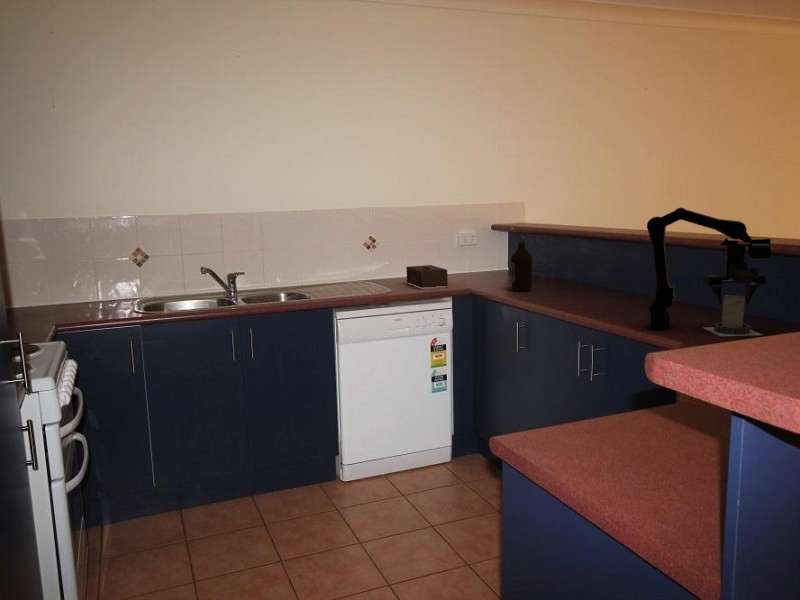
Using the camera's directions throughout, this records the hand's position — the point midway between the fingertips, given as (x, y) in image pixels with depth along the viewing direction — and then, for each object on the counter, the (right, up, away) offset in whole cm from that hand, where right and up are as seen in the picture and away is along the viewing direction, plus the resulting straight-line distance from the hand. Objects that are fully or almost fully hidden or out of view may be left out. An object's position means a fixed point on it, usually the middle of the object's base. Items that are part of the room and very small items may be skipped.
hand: (733, 304), depth 225 cm
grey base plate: (0, -9, +2) cm, 10 cm away
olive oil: (-52, +6, +107) cm, 120 cm away
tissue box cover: (-99, +9, +135) cm, 168 cm away
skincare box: (0, -9, +2) cm, 9 cm away
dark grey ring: (0, -9, +1) cm, 9 cm away
